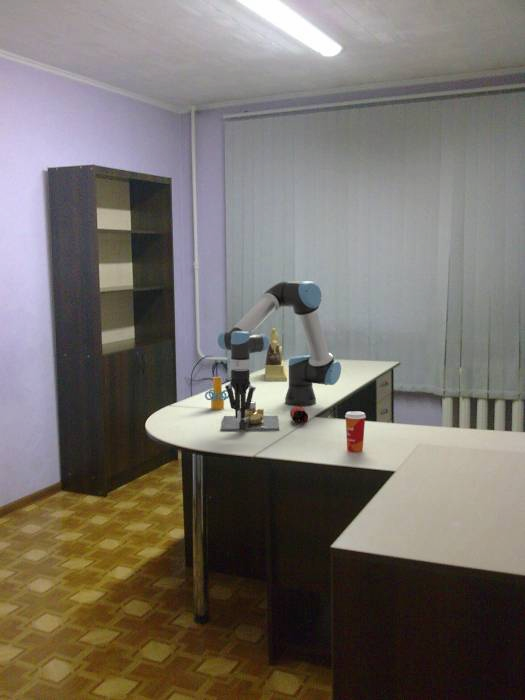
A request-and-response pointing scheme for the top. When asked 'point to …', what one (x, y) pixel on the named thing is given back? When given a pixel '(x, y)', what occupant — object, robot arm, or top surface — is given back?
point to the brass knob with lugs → (251, 419)
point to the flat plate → (268, 424)
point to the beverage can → (299, 415)
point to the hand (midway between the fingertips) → (240, 426)
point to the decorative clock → (275, 360)
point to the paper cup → (355, 430)
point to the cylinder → (217, 394)
